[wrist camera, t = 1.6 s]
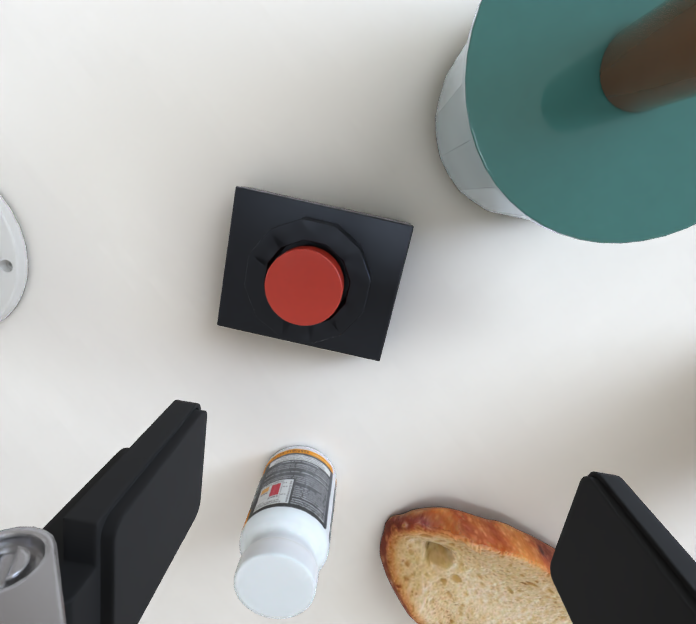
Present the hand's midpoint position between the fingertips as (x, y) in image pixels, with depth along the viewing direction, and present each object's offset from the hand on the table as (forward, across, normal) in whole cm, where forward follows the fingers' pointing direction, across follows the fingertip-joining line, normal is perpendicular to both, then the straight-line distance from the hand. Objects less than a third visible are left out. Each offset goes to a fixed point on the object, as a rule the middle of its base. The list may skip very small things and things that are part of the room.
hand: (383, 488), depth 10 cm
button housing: (+20, +4, -1) cm, 20 cm away
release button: (+16, +4, -1) cm, 17 cm away
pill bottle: (+20, +3, +15) cm, 25 cm away
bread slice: (+20, -14, +21) cm, 32 cm away
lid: (+9, -7, -13) cm, 17 cm away
